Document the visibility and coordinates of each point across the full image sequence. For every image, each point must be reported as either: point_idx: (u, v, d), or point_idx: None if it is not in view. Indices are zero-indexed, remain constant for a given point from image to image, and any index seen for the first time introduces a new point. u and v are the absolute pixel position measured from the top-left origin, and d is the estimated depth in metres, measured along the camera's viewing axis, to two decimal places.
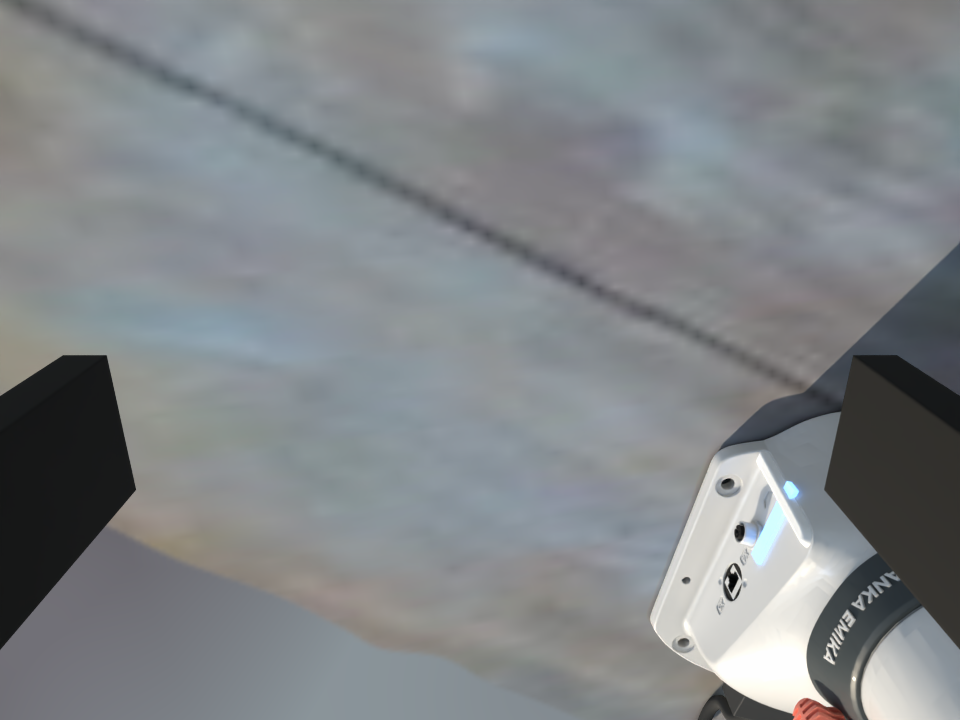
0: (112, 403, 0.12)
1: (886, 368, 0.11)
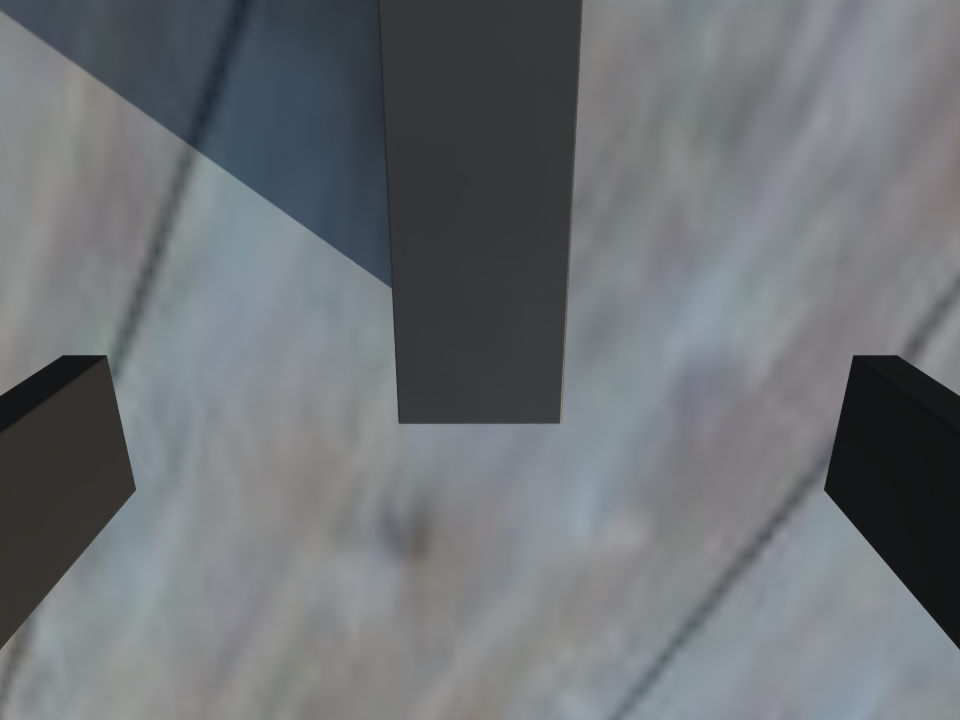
0: (112, 403, 0.12)
1: (886, 368, 0.11)
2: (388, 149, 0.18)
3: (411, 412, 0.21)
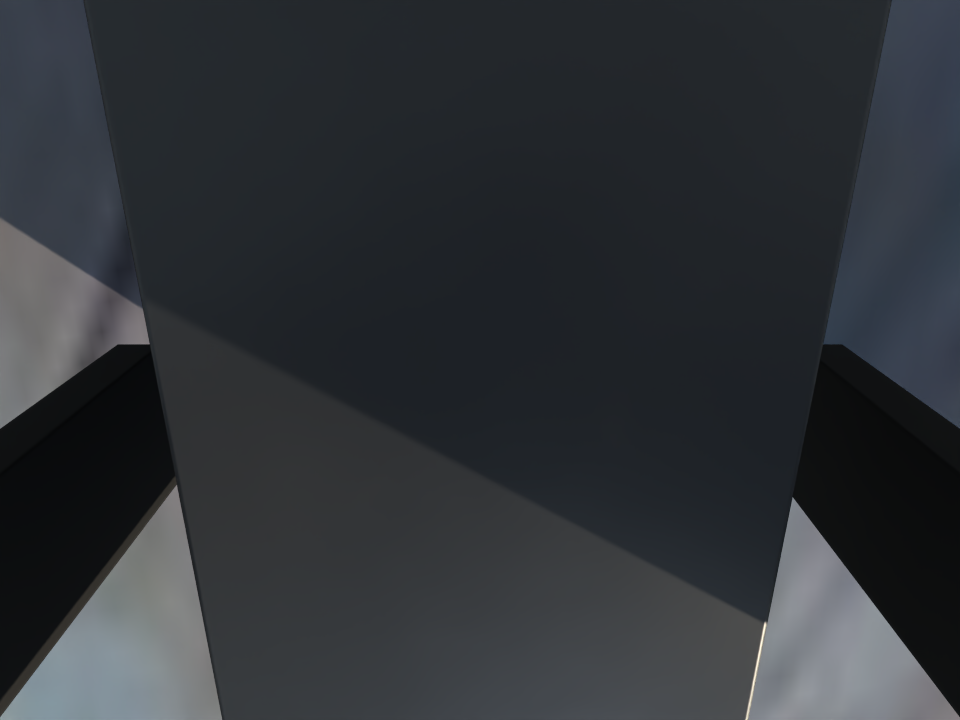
0: None
1: (829, 356, 0.12)
2: (146, 282, 0.05)
3: None
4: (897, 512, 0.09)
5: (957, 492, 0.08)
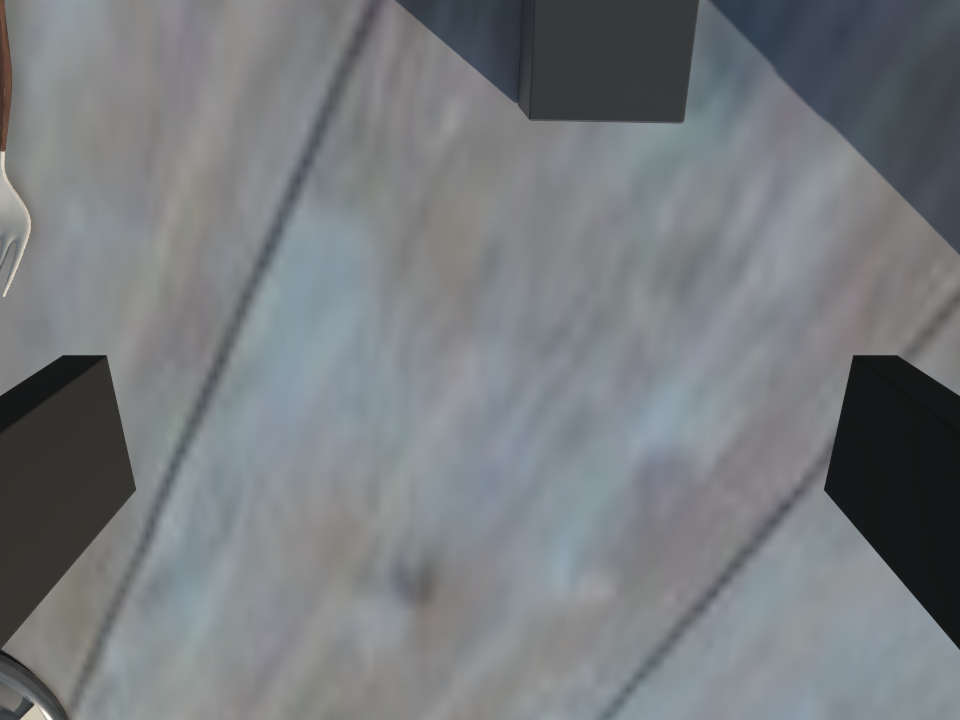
0: (111, 403, 0.12)
1: (886, 368, 0.11)
2: None
3: (542, 106, 0.22)
4: None
5: None
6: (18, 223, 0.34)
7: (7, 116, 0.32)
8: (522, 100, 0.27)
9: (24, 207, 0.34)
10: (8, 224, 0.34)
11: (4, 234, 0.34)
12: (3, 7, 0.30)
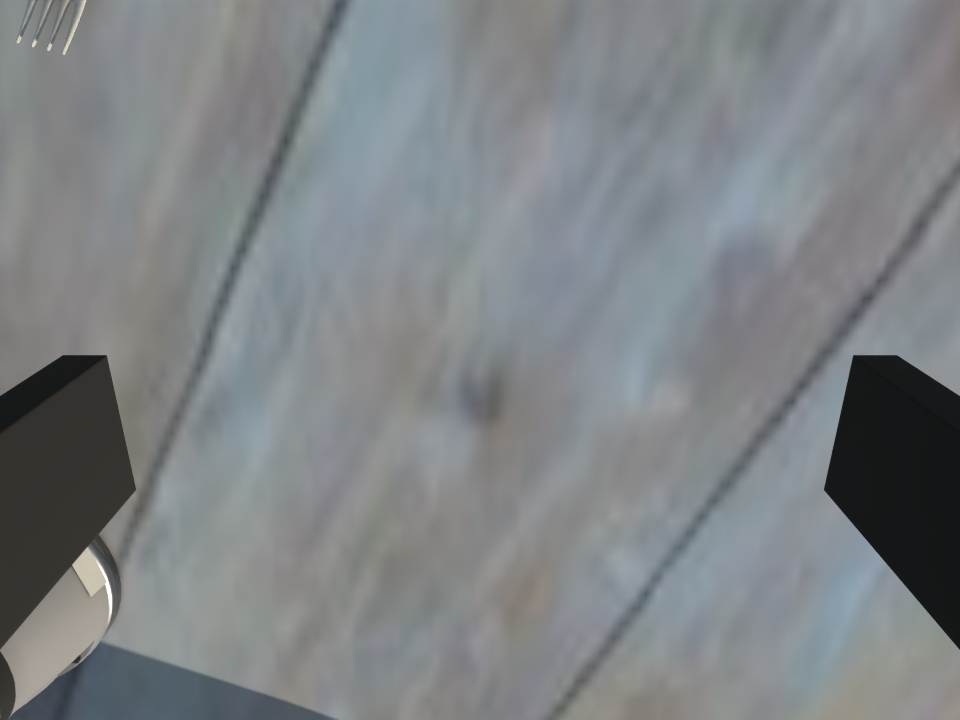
0: (111, 404, 0.12)
1: (886, 368, 0.11)
2: None
3: None
4: None
5: None
6: None
7: None
8: None
9: None
10: None
11: None
12: None
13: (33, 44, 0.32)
